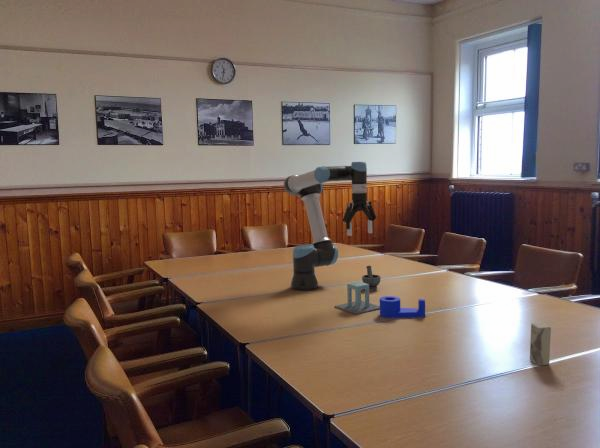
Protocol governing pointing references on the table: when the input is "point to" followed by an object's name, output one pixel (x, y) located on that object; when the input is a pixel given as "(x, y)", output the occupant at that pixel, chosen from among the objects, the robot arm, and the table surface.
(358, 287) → the slotted teal block
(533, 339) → the grey stone block
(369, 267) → the mortar and pestle
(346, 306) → the mat
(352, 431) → the table surface
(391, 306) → the bracket
